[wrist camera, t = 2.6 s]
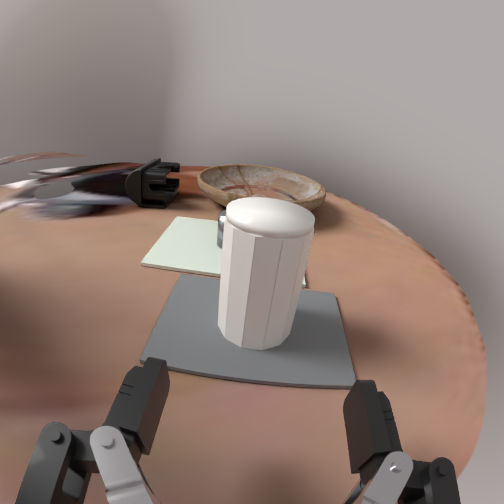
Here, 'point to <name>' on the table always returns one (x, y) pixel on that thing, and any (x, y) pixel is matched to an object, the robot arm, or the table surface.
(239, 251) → the white lidded canister
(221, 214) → the peg
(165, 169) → the end cap
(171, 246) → the board
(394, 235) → the table surface
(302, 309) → the mat
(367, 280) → the table surface
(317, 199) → the ceramic bowl
